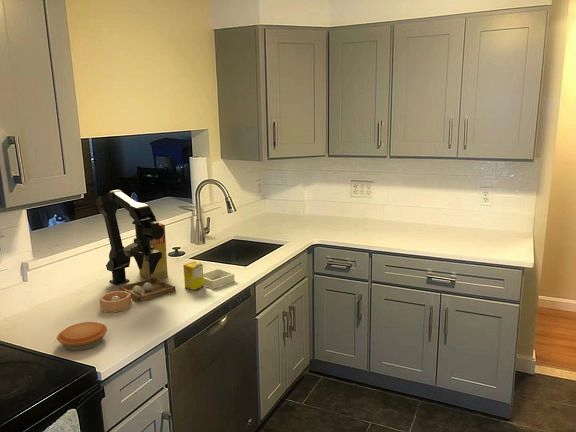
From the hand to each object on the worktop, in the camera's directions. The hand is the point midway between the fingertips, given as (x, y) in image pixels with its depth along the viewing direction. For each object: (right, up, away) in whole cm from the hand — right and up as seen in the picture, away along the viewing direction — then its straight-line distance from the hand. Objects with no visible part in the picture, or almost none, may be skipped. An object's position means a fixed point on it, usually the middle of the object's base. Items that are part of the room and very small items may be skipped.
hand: (146, 271), depth 200 cm
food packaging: (-3, -5, +23) cm, 23 cm away
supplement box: (+19, -8, +6) cm, 22 cm away
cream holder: (+27, -6, +13) cm, 31 cm away
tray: (0, -9, +2) cm, 9 cm away
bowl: (-8, -12, -13) cm, 19 cm away
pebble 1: (-8, -10, -13) cm, 18 cm away
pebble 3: (0, -7, +1) cm, 7 cm away
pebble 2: (-3, -8, -2) cm, 8 cm away
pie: (-9, -19, -41) cm, 46 cm away
